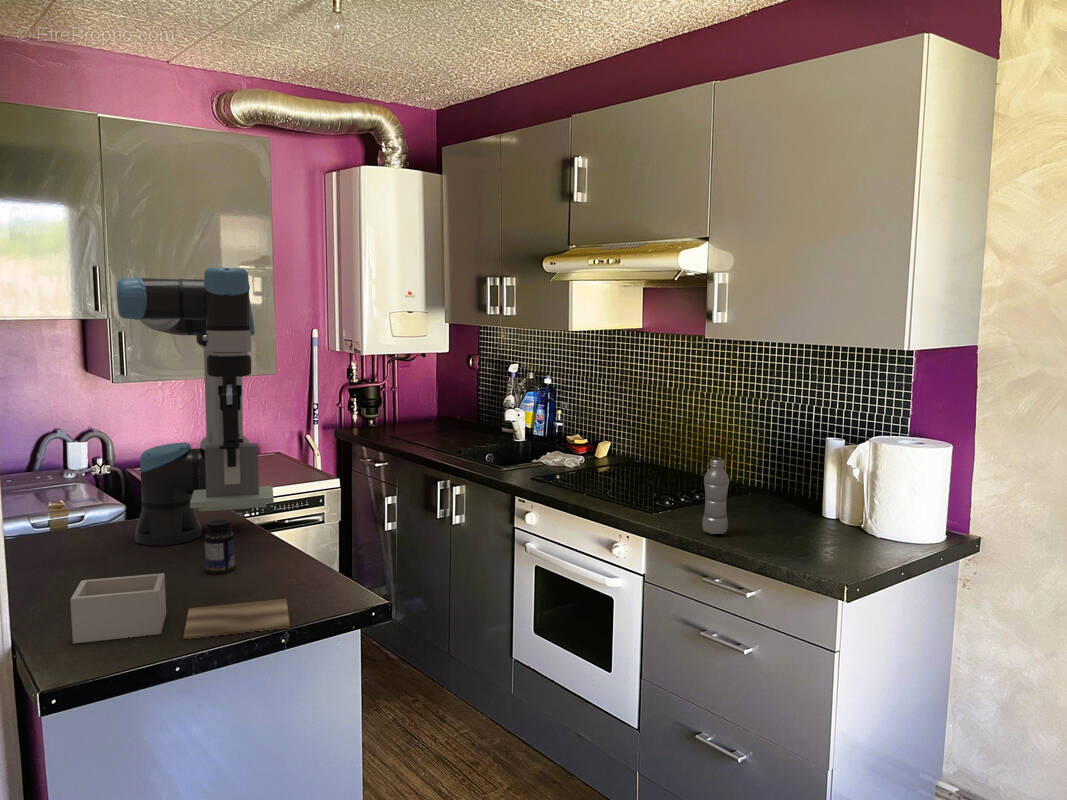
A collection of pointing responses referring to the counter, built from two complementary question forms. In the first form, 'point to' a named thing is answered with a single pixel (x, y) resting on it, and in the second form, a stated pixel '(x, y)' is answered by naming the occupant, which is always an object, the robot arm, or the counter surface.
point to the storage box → (118, 608)
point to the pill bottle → (219, 547)
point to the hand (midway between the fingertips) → (232, 481)
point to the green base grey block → (231, 494)
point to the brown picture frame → (236, 618)
